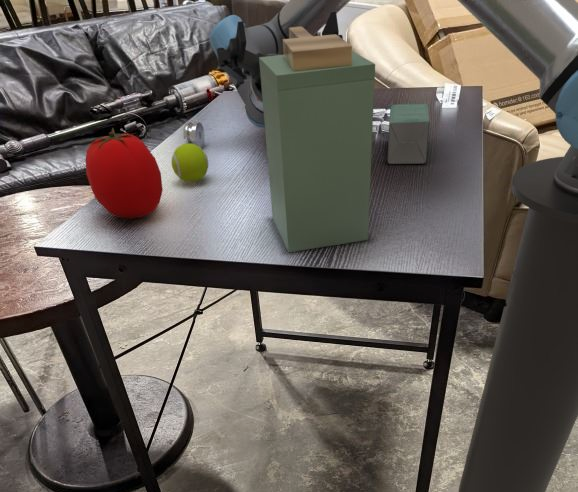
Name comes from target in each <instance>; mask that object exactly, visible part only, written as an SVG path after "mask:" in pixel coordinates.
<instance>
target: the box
mask: <svg viewBox="0 0 578 492" xmlns="http://www.w3.org/2000/svg"><path fill="white" fill-rule="evenodd" d="M388 122H389V123H388V136H387V137H388V140H387V142H388V143H387V163H388V164H389V165H417V164H418V165H419V164H420V165H421V164H422V165H423V164H426V162H427V158H428V150H429V139H430V138H429V136H430V129H431V128H430V126H431V121H430V113H429V105H428V104H427V103H400V104H399V103H398V104H392V105H390V109H389V121H388Z"/></svg>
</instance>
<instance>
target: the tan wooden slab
mask: <svg viewBox="0 0 578 492" xmlns="http://www.w3.org/2000/svg"><path fill="white" fill-rule="evenodd" d="M352 51H353V45H351V44H350V43H349V42H347V40H344V38H343V39H342V38H340V37H339V36H338V35H336V34H334V35H323V36H322V35H313V36H312V35H311V34H310V33H309V32H308V31H306V30H305V29H304V28H303V27H302V26H301V27H291V28H289V39H283V55H284V58H285V60H286V61H287V63H288V64H289V65H290V67H291V68H292V70H293V71H300V70H310V69H320V68H331V67H341V66H351V65H352Z"/></svg>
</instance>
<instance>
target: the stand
mask: <svg viewBox="0 0 578 492" xmlns="http://www.w3.org/2000/svg"><path fill="white" fill-rule="evenodd" d="M259 63H260V75H261V87H262V99H263V110H264V122H265V128H264V135H265V144H266V145H265V146H266V156H267V168H268V180H269V192H270V203H271V215H272V221H273V223H274V225H275V227H276V229H277V231H278V233H279V236H280V237H281V240H282V242H283V244H284V246H285V248H286V250H287V252H288V253H294V252H301V251H307V250H314V249H319V248H326V247H332V246H333V247H334V246H338V245H344V244H345V245H346V244H351V243H358V242H363V241H368V240H369V225H370V223H369V221H370V202H371V201H370V200H371V199H370V197H371V179H372V178H371V177H372V175H371V174H372V153H373V152H372V149H373V129H374V127H373V126H374V102H375V101H374V100H375V79H376V63H375V62H373V61H371V60H370V59H367V58H365V57H364V56H362V55H360V54H358V53H357V52H355V51H353V50H352V65H351V66H341V67H331V68H320V69H310V70H300V71H293V70H292V68H291V67H290V65H289V64H288V63H287V61H286V60H285V58H284V55H276V56H267V57H259Z"/></svg>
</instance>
